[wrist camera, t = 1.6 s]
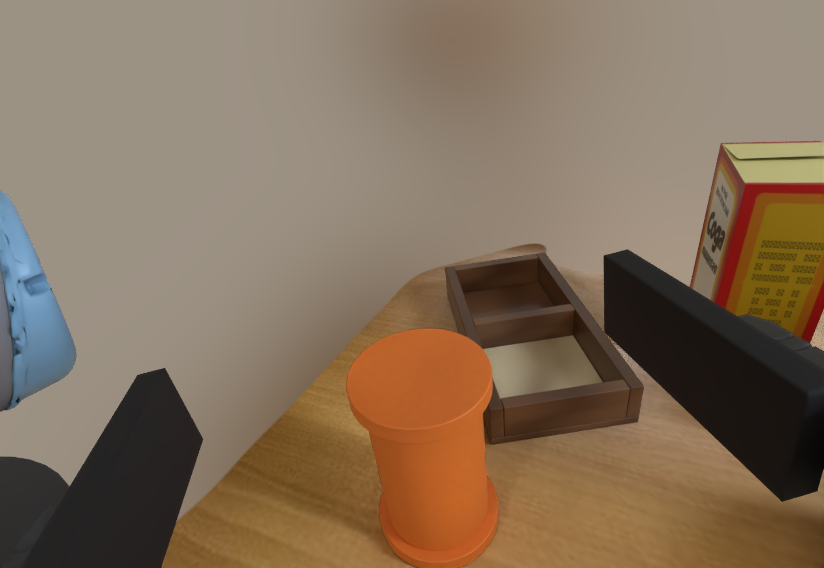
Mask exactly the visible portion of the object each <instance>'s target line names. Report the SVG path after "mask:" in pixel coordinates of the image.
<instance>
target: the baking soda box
mask: <svg viewBox="0 0 824 568" xmlns="http://www.w3.org/2000/svg"><path fill="white" fill-rule="evenodd" d="M690 288H692V289H693V290H695V291H697V292H698V293H700V294H701V295H703V296H705V297H706V298H708V299H710V300H711V301H713V302H715V303H716V304H718V305H720V306H721V307H723V308H724V309H726V310H728V311H729V312H731V313H733V314H734V315H736V316H741V315H745V314H749V315H752V316H755V317H759V318H762V319H765V320H768V321H771V322H774V323H775V324H777V325H779V326H781V327H782V328H784V329H786V330H788V331H789V332H791V333H793V334H794V336H795V337H797V336H798V337H800V338H801V339H803V340H805V341H807V342H808V343H810V342H811V339H812V337H813V334H814V332H815V329H816V327H817V324H818V322H819V319H820V317H821V314H822V312H823V309H824V143H822V142H821V141H802V142H753V143H721V145H720V150H719V155H718V159H717V165H716V168H715V173H714V178H713V182H712V187H711V192H710V196H709V201H708V205H707V210H706V215H705V219H704V224H703V229H702V233H701V238H700V243H699V247H698V252H697V257H696V261H695V265H694V270H693V275H692V279H691V284H690Z"/></svg>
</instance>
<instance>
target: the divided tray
mask: <svg viewBox="0 0 824 568" xmlns="http://www.w3.org/2000/svg"><path fill="white" fill-rule="evenodd" d="M445 274H446V284H447V295H448V298H449V302H450V305H451V309H452V312H453V315H454V319H455V322H456V326H457V329H458V333H459V334H461V335H463V336H465V337H467V338H469V339H471V340H473V341H474V342H475V343H477V344H478V345H479V346H480V347H481V348H482V349H483V350H484V352H485V353H486V355H487V356H488V358H489V360H490V363H491V367H492V379H493V390H492V396H491V399H490V402H489V404H488V406H487V408H486V409H485V411H484V412H483V418H484V422H485V425H486V428H487V432H488V435H489V439H490V442H491V444H499V443H505V442H512V441H518V440H524V439H531V438H537V437H544V436H550V435H557V434H563V433H569V432H576V431H582V430H589V429H595V428H602V427H608V426H614V425H621V424H627V423H634V422H638V418H639V412H640V406H641V401H642V395H643V389H644V386H643V384H642V383H641V381H640V380H639V379H638V377H637V376H636V375H635V373H634V372H633V371H632V369H631V368H630V367H629V365H628V364H627V363H626V361H625V360H624V359H623V357H622V356H621V355H620V353H619V352H618V351H617V349H616V348H615V346H614V345H613V344H612V342H611V341H610V340H609V338H608V337H607V336H606V334H605V333H604V332H603V330H602V329H601V328H600V326H599V325H598V324H597V322H596V321H595V320H594V318H593V317H592V315H591V314H590V313H589V311H588V310H587V309H586V307H585V306H584V305H583V303H582V302H581V301H580V299H579V298H578V297H577V295H576V294H575V293H574V291H573V290H572V289H571V287H570V286H569V285H568V283H567V282H566V280H565V279H564V278H563V276H562V275H561V274H560V272H559V271H558V270H557V268H556V267H555V266H554V264H553V263H552V262H551V260H550V259H549V258H548V256H547V255H546V254H545V253H539V254H532V255H525V256H518V257H512V258H505V259H498V260H492V261H485V262H478V263H472V264H465V265H458V266H452V267H446V268H445Z"/></svg>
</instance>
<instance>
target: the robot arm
mask: <svg viewBox="0 0 824 568" xmlns="http://www.w3.org/2000/svg"><path fill="white" fill-rule="evenodd" d="M46 278H47V277H46V275H45V273H44V271H43V269H42V266H41V264H40V260H39V258H38V256H37V254H36V251H35V249H34V247H33V244H32V242H31V240H30V238H29V236H28V233H27V231H26V229H25V227H24V225H23V223H22V220H21V218H20V216H19V214H18V212H17V210H16V208H15V206H14V204H13V202H12V200H11V198H10V197H9V196H8V195H7V194H6V193H4V192H2V191H0V412H1V411H3V410H9V409H11V408H13V407H15V406H17V405H18V404H19V402H20V401H21V400H22V399H24V398H26V397H28V396H30V395H32V394H34V393H36V392H38V391H40V390H42V389H44V388H46V387H48V386H50V385H51V384H54V383H56V382H58V381H59V380H61V379H62V378H64V377H65V376H66V375H67V374H68V373H69V372H70V371H71V369H72V368H73V366H74V364H75V361H76V348H75V345H74V342H73V339H72V337H71V334H70V331H69V329H68V326H67V324H66V321H65V319H64V317H63V315H62V312H61V309H60V307H59V304H58V302H57V300H56V298H55V295H54V293H53V291H52V289H51V287H50V285H49V283H48V281H47V279H46ZM604 330H605V333H606V334H607V335H608V336H609V337H610V338H611V339H612V340H613V341H614V342H616V343H617V344H618V345H619V346H620V347H621V348H622V349H623V350H624V351H625V352H626V353H627V354H628V355H629V356H630V357H631V358H632V359H633V360H634V361H635V362H636V363H638V364H639V365H640V366H641V367H642V368H643V369H644V370H645V371H646V372H647V373H648V374H649V375H650V376H651V377H652V378H653V379H654V380H655V381H656V382H657V383H658V384H659V385H661V386H662V387H663V388H664V389H665V390H666V391H667V392H668V393H669V394H670V395H671V396H672V397H673V398H674V399H675V400H676V401H677V402H678V403H679V404H680V405H681V406H682V407H684V408H685V409H686V410H687V411H688V412H689V413H690V414H691V415H692V416H693V417H694V418H695V419H696V420H697V421H698V422H699V423H700V424H701V425H702V426H703V427H704V428H705V429H707V430H708V431H709V432H710V433H711V434H712V435H713V436H714V437H715V438H716V439H717V440H718V441H719V442H720V443H721V444H722V445H723V446H724V447H725V448H726V449H727V450H728V451H730V452H731V453H732V454H733V455H734V456H735V457H736V458H737V459H738V460H739V461H740V462H741V463H742V464H743V465H744V466H745V467H746V468H747V469H748V470H749V471H750V472H751V473H753V474H754V475H755V476H756V477H757V478H758V479H759V480H760V481H761V482H762V483H763V484H764V485H765V486H766V487H767V488H768V489H769V490H770V491H771V492H772V493H773V494H774V495H776V496H777V497H778V498H779V499H780V500H781V501H782V502H783V501H786V500H789V499H793V498H796V497H800V496H803V495H806V494H810V493H813V492H816V491H817V490H818V486H819V483H820V479H821V476H822V472H823V469H824V351H822V350H821V349H819V348H817V347H812V346H811V344H810V343H808V342H807V341H805V340H803V339H801V338H800V337H798V336H797V337H795V336H794V334H793V333H791V332H789V331H788V330H786V329H784V328H782V327H781V326H779V325H777V324H775V323H774V322H771V321H768V320H765V319H762V318H759V317H755V316H752V315H749V314H745V315H741V316H736V315H734V314H733V313H731V312H729V311H728V310H726V309H724V308H723V307H721V306H720V305H718V304H716V303H715V302H713V301H711V300H710V299H708V298H706V297H705V296H703V295H701V294H700V293H698V292H697V291H695V290H693V289H692V288H690V287H688V286H687V285H685V284H683V283H682V282H680V281H679V280H677V279H675V278H673V277H672V276H670V275H669V274H667V273H665V272H664V271H662V270H660V269H659V268H657V267H656V266H654V265H652V264H651V263H649V262H647V261H645V260H644V259H642V258H641V257H639V256H638V255H636V254H634V253H633V252H631V251H629V250H624V251H620V252H616V253H612V254H608V255H604ZM202 441H203V438H202V436H201V434H200V432H199V431H198V429H197V427H196V425H195V423H194V421H193V419H192V418H191V416H190V414H189V412H188V410H187V408H186V406H185V405H184V403H183V401H182V399H181V397H180V395H179V393H178V391H177V390H176V388H175V386H174V384H173V382H172V380H171V379H170V377H169V375H168V373H167V371H166V369H165V368H163V369H159V370H155V371H151V372H147V373H143V374H140V375H137V377H136V379H135V380H134V382H133V384H132V385H131V387H130V388H129V390H128V392H127V394H126V395H125V397H124V398H123V400H122V401H121V403H120V405H119V407H118V408H117V410H116V411H115V413H114V415H113V416H112V418H111V420H110V421H109V423H108V425H107V426H106V428H105V429H104V431H103V433H102V434H101V436H100V438H99V439H98V441H97V443H96V444H95V446H94V448H93V449H92V451H91V452H90V454H89V456H88V457H87V459H86V461H85V462H84V464H83V466H82V467H81V469H80V471H79V472H78V474H77V476H76V477H75V479H74V480H73V482H72V484H71V485H70V487H69V489H68V490H67V492H66V494H65V495H64V497H63V499H62V500H61V501H58V502H55V503H51V504H50V505H49V506H48V507H47V508H46V509H45V510H44V511H43V512H42V513H41V514H40V515H39V516H38V517H37V518H36V519H35V520H34V521H33V522H32V523H31V524H30V525H29V526H28V528H27V529H26V531H25V532H24V534H23V535H22V537H21V538H20V540H19V541H18V543H17V545H16V546H15V548H14V549H13V554H12V555H9V557H8V558H7V560H6V562H5V563H4V565H3V566H2V568H161V566H162V563H163V560H164V557H165V554H166V551H167V548H168V545H169V542H170V539H171V536H172V533H173V530H174V527H175V524H176V520H177V517H178V514H179V511H180V508H181V505H182V502H183V499H184V496H185V493H186V490H187V487H188V484H189V481H190V478H191V475H192V471H193V469H194V465H195V462H196V459H197V456H198V453H199V450H200V447H201V444H202Z"/></svg>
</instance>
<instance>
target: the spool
mask: <svg viewBox="0 0 824 568" xmlns="http://www.w3.org/2000/svg"><path fill="white" fill-rule="evenodd" d="M492 390H493V379H492V367H491V363H490V360H489V358H488V356H487V355H486V353H485V352H484V350H483V349H482V348H481V347H480V346H479V345H478V344H477V343H475V342H474V341H473V340H471V339H469V338H467V337H465V336H463V335H461V334H458V333H455V332H452V331H447V330H442V329H429V328H427V329H413V330H408V331H403V332H399V333H396V334H393V335H390V336H387V337H385V338H383V339H381V340H379V341H377V342H376V343H374V344H372V345H371V346H370V347H368V348H367V349H366V350H365V351H363V352H362V353H361V354H360V355H359V356H358V358H357V359H356V360H355V362H354V363H353V364H352V366H351V368H350V370H349V373H348V376H347V382H346V391H347V395H348V399H349V403H350V406H351V410H352V412H353V414H354V416H355V418H356V419H357V420H358V422H359V423H360V424H361V425H362V426H363V427H364V428H366V429H367V430H368V431H369V435H370V439H371V443H372V447H373V451H374V455H375V460H376V464H377V468H378V472H379V476H380V480H381V484H382V488H383V492H382V495H381V499H380V505H379V514H380V521H381V525H382V529H383V532H384V535H385V538H386V540H387V542H388V544H389V545H390V547H391V548H392V550H393V551H394V552H395V553H396V554H397V555H398V556H399V557H400V558H401V559H403V560H404V561H406V562H407V563H409V564H411V565H413V566H415V567H418V568H459V567H462V566H465V565H466V564H468V563H470V562H472V561H473V560H475V559H476V558H477V557H479V556H480V555H481V554H482V553H483V552H484V551H485V549H486V548H487V547H488V545H489V544H490V542H491V541H492V539H493V537H494V534H495V532H496V528H497V524H498V499H497V494H496V491H495V488H494V485H493V484H492V482H491V480H490V478H489V477H488V475H487V473H486V456H485V440H484V423H483V412H484V411H485V409H486V408H487V406H488V404H489V402H490V399H491V396H492Z"/></svg>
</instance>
